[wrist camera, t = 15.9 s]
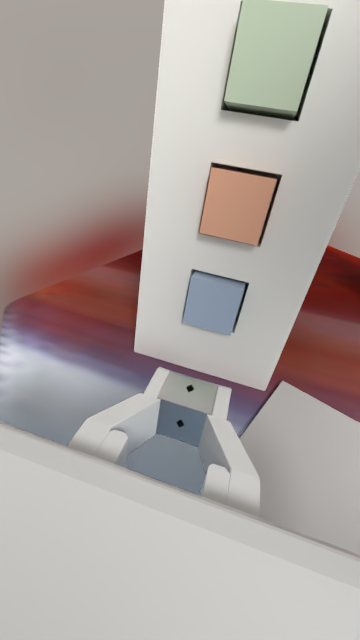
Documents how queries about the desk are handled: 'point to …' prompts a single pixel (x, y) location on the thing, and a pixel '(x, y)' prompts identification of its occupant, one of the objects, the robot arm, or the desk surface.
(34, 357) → the desk surface
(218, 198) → the terracotta button
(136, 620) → the robot arm
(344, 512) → the paper stack
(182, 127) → the button panel
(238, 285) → the slate button
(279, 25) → the sage button
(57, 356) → the desk surface
